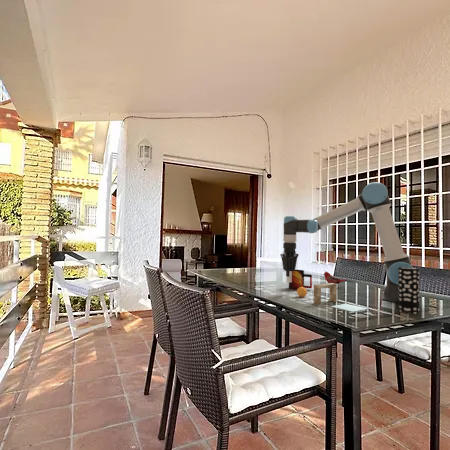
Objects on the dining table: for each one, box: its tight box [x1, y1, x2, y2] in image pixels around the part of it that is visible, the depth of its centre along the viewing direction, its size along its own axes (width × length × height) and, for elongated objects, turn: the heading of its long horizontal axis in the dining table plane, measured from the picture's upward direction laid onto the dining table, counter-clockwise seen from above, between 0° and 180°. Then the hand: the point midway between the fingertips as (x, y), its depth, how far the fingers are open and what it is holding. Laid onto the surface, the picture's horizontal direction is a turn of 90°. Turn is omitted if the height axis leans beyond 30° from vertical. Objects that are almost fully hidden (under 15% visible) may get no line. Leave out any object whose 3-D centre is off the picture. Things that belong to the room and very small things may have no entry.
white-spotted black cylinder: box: [397, 267, 420, 315], centre depth 141 cm, size 8×8×20 cm
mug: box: [288, 269, 313, 291], centre depth 198 cm, size 10×14×12 cm
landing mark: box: [330, 303, 368, 313], centre depth 146 cm, size 12×12×1 cm
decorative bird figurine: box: [323, 271, 347, 285], centre depth 207 cm, size 3×18×10 cm, turn 42°
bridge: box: [313, 282, 338, 305], centre depth 158 cm, size 3×14×9 cm, turn 123°
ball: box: [296, 287, 308, 298], centre depth 171 cm, size 6×6×6 cm
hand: (289, 282), depth 180 cm, fingers closed
